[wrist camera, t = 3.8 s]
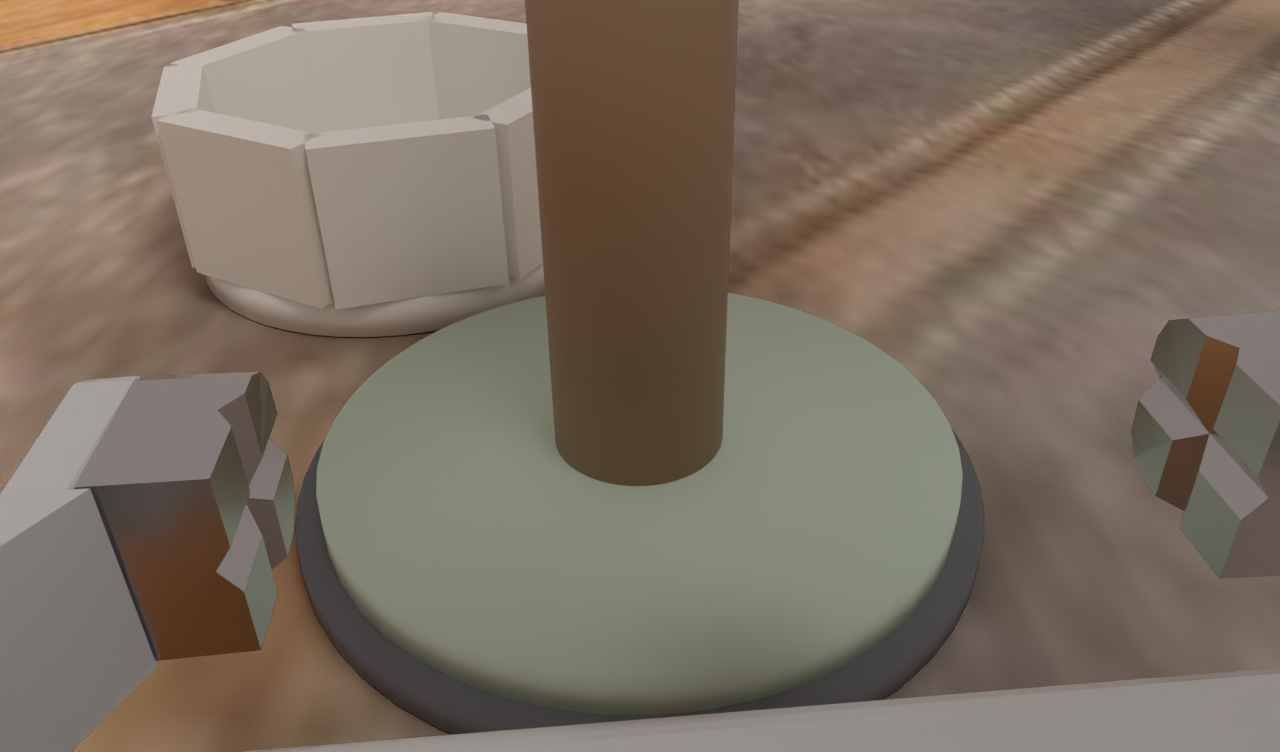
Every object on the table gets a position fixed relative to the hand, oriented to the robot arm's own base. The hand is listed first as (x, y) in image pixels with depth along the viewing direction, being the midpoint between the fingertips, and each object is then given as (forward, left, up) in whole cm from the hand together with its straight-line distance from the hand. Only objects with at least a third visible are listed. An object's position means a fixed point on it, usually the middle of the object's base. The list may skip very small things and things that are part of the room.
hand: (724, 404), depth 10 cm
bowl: (-14, -16, -8) cm, 23 cm away
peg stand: (-7, -5, -7) cm, 11 cm away
